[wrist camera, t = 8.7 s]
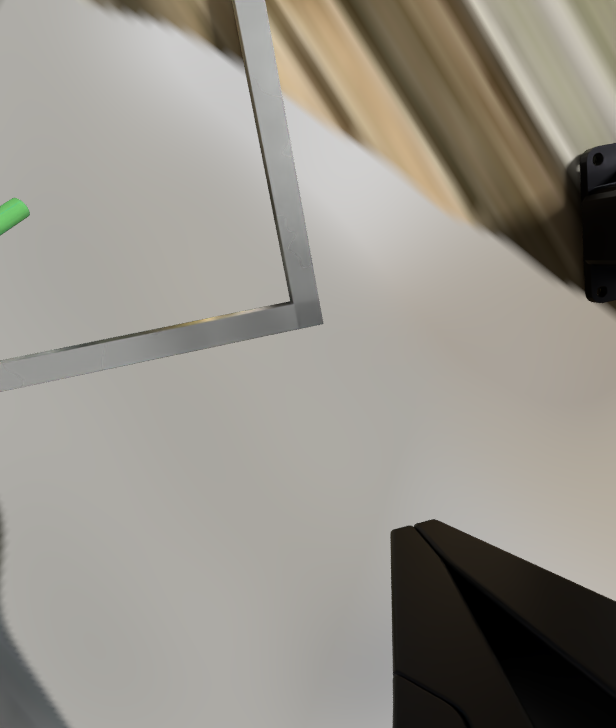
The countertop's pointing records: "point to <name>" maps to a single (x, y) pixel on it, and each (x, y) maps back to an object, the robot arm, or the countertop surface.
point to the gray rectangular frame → (289, 231)
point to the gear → (12, 214)
